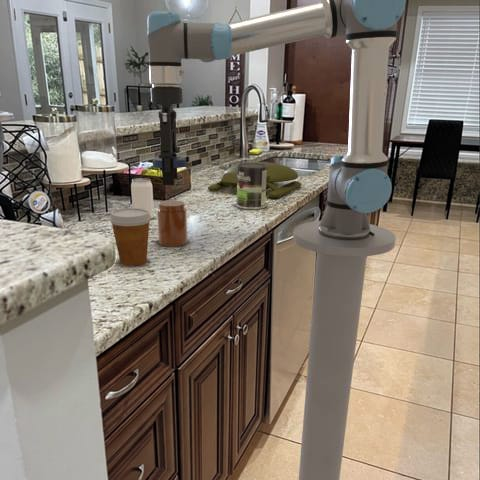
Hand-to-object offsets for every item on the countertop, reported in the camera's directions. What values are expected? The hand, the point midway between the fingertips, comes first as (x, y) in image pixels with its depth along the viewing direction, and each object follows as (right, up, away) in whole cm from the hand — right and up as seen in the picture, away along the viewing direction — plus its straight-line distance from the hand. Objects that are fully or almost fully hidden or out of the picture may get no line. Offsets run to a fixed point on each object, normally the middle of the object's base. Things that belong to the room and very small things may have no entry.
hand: (170, 181), depth 129 cm
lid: (0, +5, -2) cm, 5 cm away
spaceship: (+26, +16, +78) cm, 83 cm away
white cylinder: (-13, -5, +30) cm, 33 cm away
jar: (0, -15, +6) cm, 16 cm away
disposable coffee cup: (-8, -21, -9) cm, 24 cm away
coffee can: (+22, +2, +47) cm, 52 cm away
